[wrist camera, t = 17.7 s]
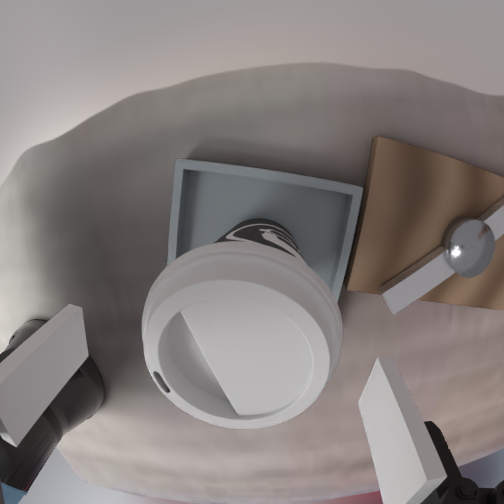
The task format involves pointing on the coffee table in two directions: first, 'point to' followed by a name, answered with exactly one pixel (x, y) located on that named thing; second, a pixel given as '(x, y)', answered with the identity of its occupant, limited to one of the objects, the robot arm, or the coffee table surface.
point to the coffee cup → (242, 329)
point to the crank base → (421, 221)
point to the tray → (265, 211)
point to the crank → (449, 257)
